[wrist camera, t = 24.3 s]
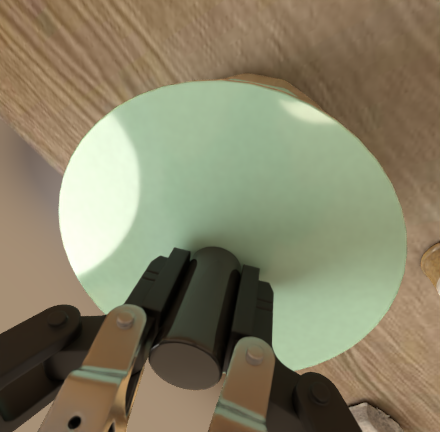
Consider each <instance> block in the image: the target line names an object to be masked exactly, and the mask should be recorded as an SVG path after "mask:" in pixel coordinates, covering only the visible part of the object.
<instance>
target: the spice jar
mask: <svg viewBox="0 0 440 432" xmlns="http://www.w3.org/2000/svg"><path fill="white" fill-rule="evenodd" d="M421 268H422V271H423V273H424V274H425V275H426V276H427V277H428V278H429V279H430V280H431V282H432V283H433V285H434V286H435V288H436V290H437V292H438V293H439V295H440V243H437V244H435V245H434V246H432V247H431V248H429V249H428V250H427V251H426V252H425V254H424V255H423V257H422V259H421Z"/></svg>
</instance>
